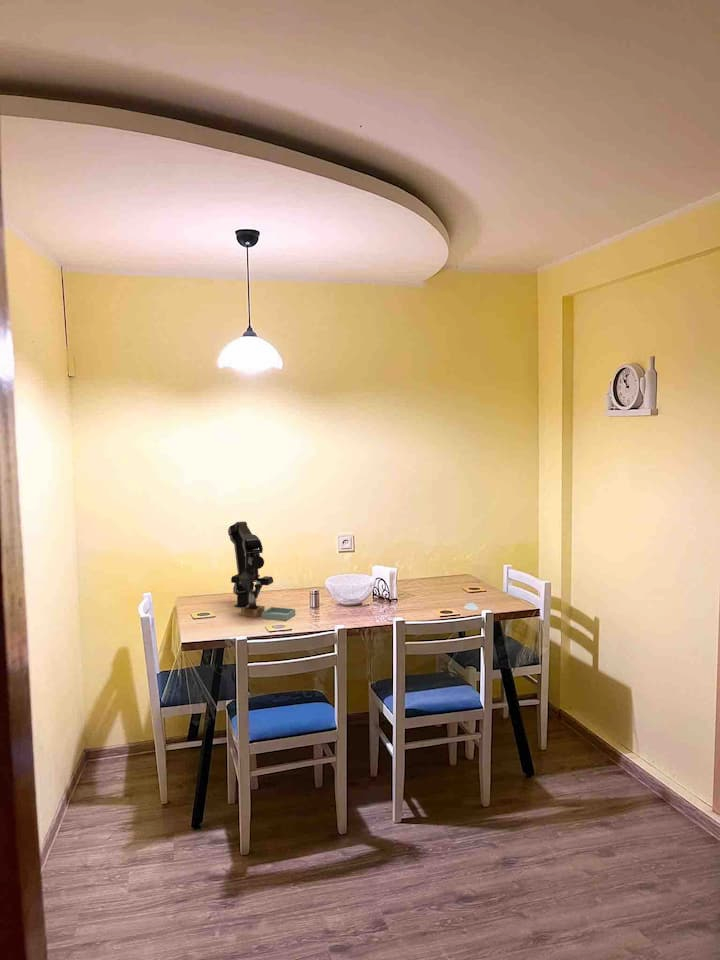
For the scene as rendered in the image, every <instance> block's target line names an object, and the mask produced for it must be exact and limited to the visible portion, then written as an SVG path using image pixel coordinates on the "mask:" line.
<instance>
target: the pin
mask: <svg viewBox="0 0 720 960" xmlns="http://www.w3.org/2000/svg"><path fill="white" fill-rule="evenodd" d="M256 605H257V599H255V589H253V590H249V609H256Z"/></svg>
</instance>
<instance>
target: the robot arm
mask: <svg viewBox="0 0 720 960" xmlns="http://www.w3.org/2000/svg"><path fill="white" fill-rule="evenodd" d="M227 534H228V537H229V539H230V541H231V543H232V544H233V545H234V552H235V553H234V554H235V560H236V561H235V562H236V570H237V574H234V575H232V577H231V578H230V583H231V584H233V588H232V591H233V594H234V595H236V597H237V598H236V600H237V601H236V604H235V605H234V607H236V608H244V607H246V606H247V605H249V590H255V599H256V600H257V599H258V597H259V595H260V591H261V590H262V589H263V588H262V587H263V586H269V585H271V584H273V583H274V577H273V576H267V575H266V576H265V575H264V576H263V577H260V576H261V575H260V574H259V569H262V568H263V567H264V565H265V560H264V558H263V557H262V556H261V555H260V554H263V551H264V548H263V544H262V542H261V539H260V538H259V537H258V536H257V535H256V534H253V533H252V531H251V530H250V528H249V526H248V523H247V521H237V522H235V523H233V524H231V525H230V526H229V527H228V529H227ZM255 583H256V584H255Z"/></svg>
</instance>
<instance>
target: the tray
mask: <svg viewBox="0 0 720 960" xmlns="http://www.w3.org/2000/svg"><path fill="white" fill-rule="evenodd" d="M294 616H296V608H289V607H288V608H287V607H276V606H270V607H269V608H267V609H266V610H265V611H264V612H262V614H261V619H262V620H273V621H282V622H287V621H289V620H290V619H292V618H293V617H294Z"/></svg>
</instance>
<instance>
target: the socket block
mask: <svg viewBox="0 0 720 960" xmlns="http://www.w3.org/2000/svg"><path fill="white" fill-rule="evenodd" d="M264 611H266V610H265V605H258V604H256V609H249V605H247V606H246V607H241V608H240V616H241V617H249V618H259V616H262V612H264Z"/></svg>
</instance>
